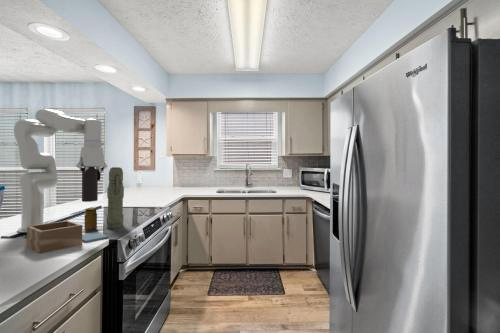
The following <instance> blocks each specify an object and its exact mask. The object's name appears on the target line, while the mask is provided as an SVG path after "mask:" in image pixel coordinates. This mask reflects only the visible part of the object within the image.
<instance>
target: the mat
mask: <svg viewBox="0 0 500 333" xmlns="http://www.w3.org/2000/svg"><path fill="white" fill-rule="evenodd" d="M108 238H109V236H108V235H106V234H102V233H101V232H98V231H93V232H90V233H85V234H82V243H91V242H95V241H101V240H105V239H108Z"/></svg>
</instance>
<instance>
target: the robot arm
mask: <svg viewBox="0 0 500 333" xmlns="http://www.w3.org/2000/svg"><path fill="white" fill-rule="evenodd" d="M34 118H35V119H28V118H27V119H25V118H23V119H19V120H17V121H16V122H15V123H14V126H13V127H14V128H13V134H14V135H13V136H14V139H15V140H16V142H17V145H18V153H19V154H18V155H19V161H20V162H19V163H20V166H21V168H22V169H24V170H27V171H28V172H24V173H23V174H22V175H20V177H19V181H18V182H19V186H20V187H19V188H20V191H21V215H20V216H21V219H20V220H21V222H20V223H21V224H20V225H21V227H18V228H17V233H18V232H19V233H27V226H33V225H40V224H44V212H45V211H44V208H45V206H44V205H45V201H44V200H45V198H44V194H43V193H42V192H41V190H43V189H44V190H45V189H52V188H54V187H56V186H57V185H58V170H57V166H56V164H57V163H56V159H55V158H54V156H53V155H52V154H50V153H47V152H45V153H44V152H40V150H39V144H38V142H37V141H36V140H35V139H34V138H33V137H34V136H35V137H42V138H45V137H46V138H49V137H51V136H55V134H56V133H58V132H59V131H61V132H64V133H69V134H76V135H83V146H81V148H80V149H81V150H80V154H79V161H78V163H77V164H76V165H75V167H76V168H77V169H79V170H80V171H81V173H82V172H85V171H86V170H87V169H88V168H89V167H95V169H96V170H97V171H98V182H100V181H101V177H102V176H101V174H102V172H103V171H104V170H105V169H106V168H108V164H107V163H106V162H105V156H104V149H103V147H102V146H104V142H103V141H102V132H103V131H102V127H103V126H102V121H101V120H99V119H95V118H94V119H93V118H87V119H83V118H76V117H70V116H68V114H66V113H64V111H59V110H55V109H54V110H53V109H50V108H41V109H38V110H37V111H36V112H35V115H34ZM32 136H33V137H32ZM29 170H30V171H29ZM35 170H37V171H35Z"/></svg>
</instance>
